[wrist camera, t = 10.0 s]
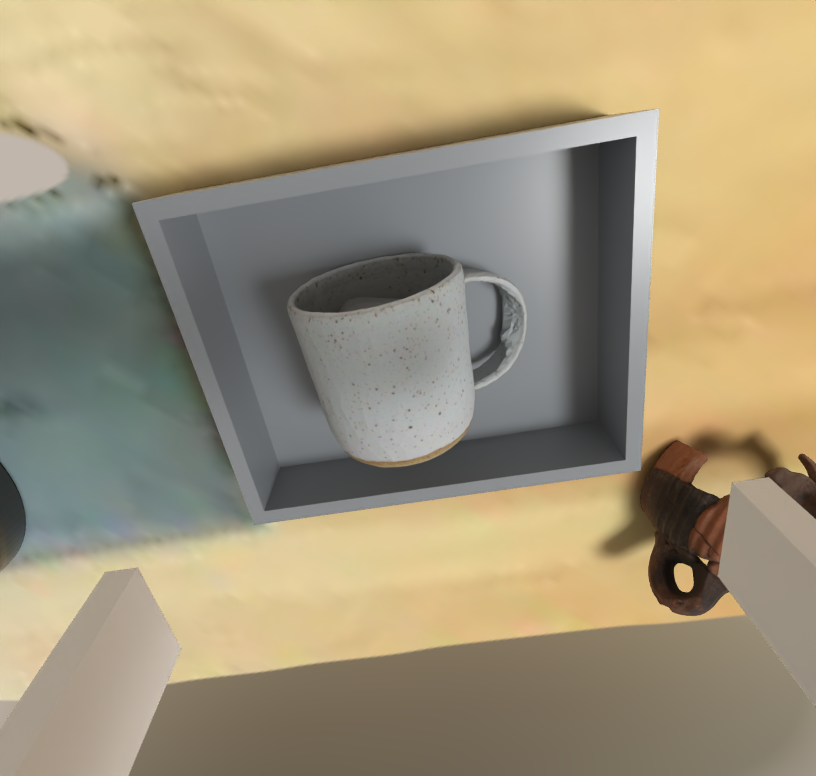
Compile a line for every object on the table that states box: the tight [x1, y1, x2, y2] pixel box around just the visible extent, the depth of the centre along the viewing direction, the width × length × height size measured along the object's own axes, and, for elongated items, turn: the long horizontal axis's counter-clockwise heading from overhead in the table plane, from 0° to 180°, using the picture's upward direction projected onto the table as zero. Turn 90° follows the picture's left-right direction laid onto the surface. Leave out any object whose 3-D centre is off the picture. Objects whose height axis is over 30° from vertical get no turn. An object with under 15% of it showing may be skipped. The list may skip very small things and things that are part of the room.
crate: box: [132, 109, 659, 525], centre depth 25 cm, size 21×17×5 cm
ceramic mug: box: [287, 253, 527, 467], centre depth 23 cm, size 11×8×8 cm
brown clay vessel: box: [641, 441, 816, 616], centre depth 31 cm, size 12×9×8 cm
